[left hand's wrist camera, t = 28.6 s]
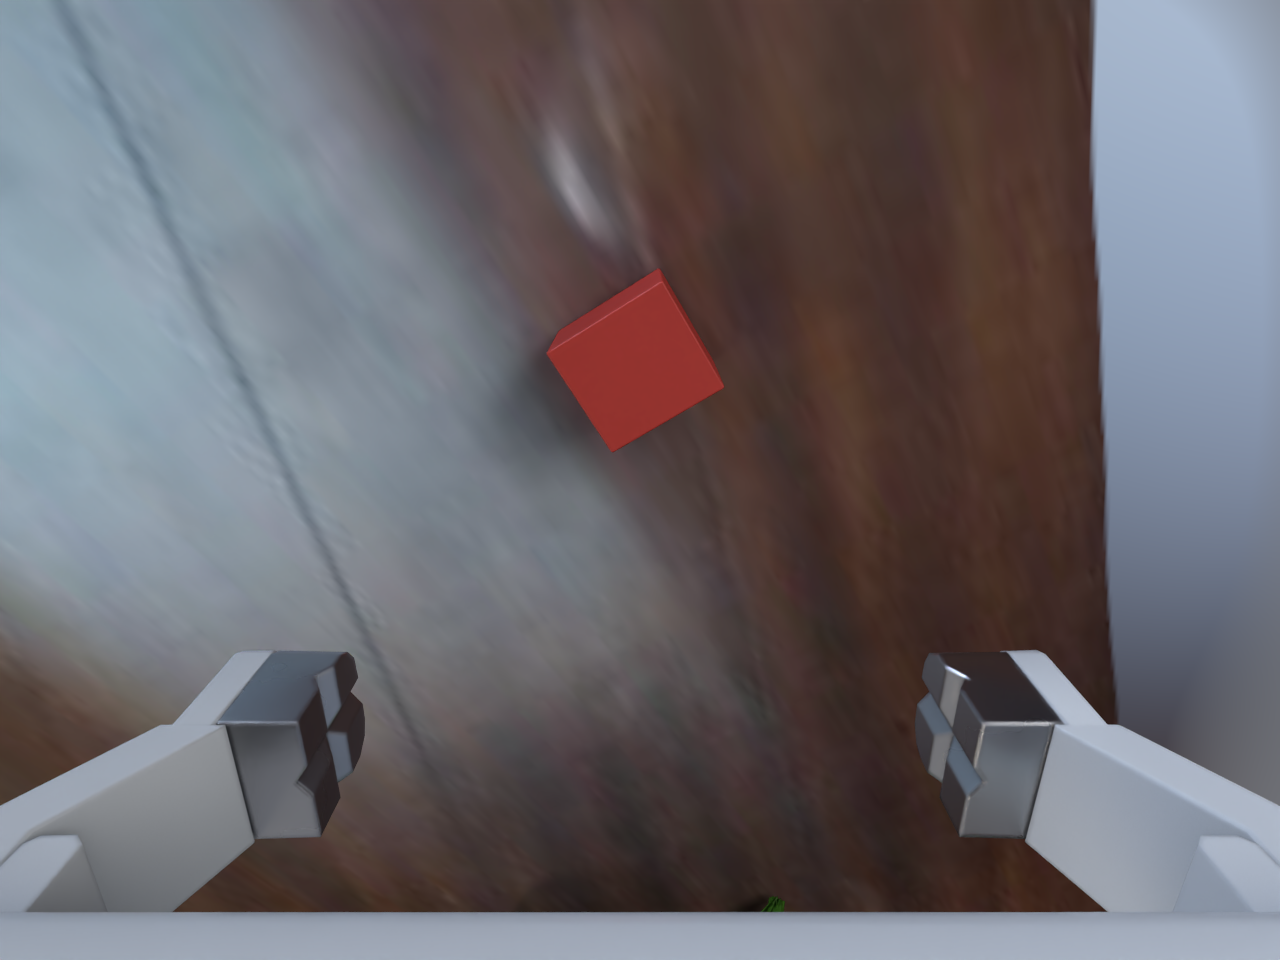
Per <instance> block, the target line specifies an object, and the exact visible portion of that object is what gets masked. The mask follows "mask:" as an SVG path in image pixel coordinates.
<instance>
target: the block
mask: <svg viewBox="0 0 1280 960" xmlns="http://www.w3.org/2000/svg"><path fill="white" fill-rule="evenodd" d="M547 355H548V357H549V358H550V360H551V361H552V363H553V364H554V366H555V368H556V369H557V371H558V372H559V374H560V375H561V377H562V378H563V380H564V381H565V383H566V384H567V386H568V387H569V389H570V390H571V392H572V393H573V395H574V396H575V398H576V399H577V401H578V402H579V404H580V405H581V407H582V408H583V410H584V411H585V413H586V414H587V416H588V417H589V419H590V420H591V422H592V423H593V425H594V427H595V428H596V430H597V431H598V433H599V434H600V436H601V437H602V439H603V440H604V442H605V443H606V445H607V446H608V448H609V449H610V451H611V452H615V451H616V450H618V449H620V448H621V447H623V446H625V445H627V444H628V443H630V442H632V441H634V440H635V439H637V438H639V437H640V436H642V435H644V434H646V433H647V432H649V431H651V430H652V429H654V428H656V427H658V426H659V425H661V424H663V423H665V422H666V421H668V420H670V419H671V418H673V417H675V416H677V415H678V414H680V413H682V412H684V411H685V410H687V409H689V408H690V407H692V406H694V405H696V404H697V403H699V402H701V401H702V400H704V399H706V398H708V397H709V396H711V395H713V394H715V393H716V392H718V391H720V390H721V389H723V388H724V385H723V382H722V380H721V378H720V375H719V373H718V371H717V368H716V366H715V364H714V361H713V360H712V358H711V356H710V354H709V353H708V351H707V349H706V347H705V346H704V344H703V342H702V341H701V339H700V337H699V335H698V334H697V332H696V330H695V328H694V327H693V325H692V323H691V322H690V320H689V318H688V316H687V315H686V313H685V311H684V309H683V308H682V306H681V304H680V303H679V301H678V299H677V297H676V296H675V294H674V292H673V290H672V289H671V287H670V285H669V284H668V282H667V280H666V278H665V277H664V275H663V273H662V271H661V270H660V269H657V270H655V271H654V272H652V273H650V274H649V275H647V276H646V277H644V278H642V279H641V280H639V281H638V282H636V283H634V284H633V285H631V286H630V287H628V288H626V289H625V290H623V291H622V292H620V293H618V294H617V295H615V296H614V297H612V298H610V299H609V300H607V301H606V302H604V303H603V304H601V305H599V306H598V307H596V308H595V309H593V310H591V311H590V312H588V313H587V314H585V315H583V316H582V317H580V318H579V319H577V320H575V321H574V322H572V323H571V324H569V325H567V326H566V327H564V328H563V329H561V330H559V332H558V333H557V335H556V337H555V339H554V341H553V342H552V344H551V346H550V348H549V350H548V352H547Z"/></svg>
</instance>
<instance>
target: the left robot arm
mask: <svg viewBox="0 0 1280 960" xmlns="http://www.w3.org/2000/svg"><path fill="white" fill-rule="evenodd" d="M357 679H358V675H357V670H356V665H355V660H354V657H352V656H351V655H350V654H349V653H348V652H317V651H278V652H277V651H242V652H239V653H236V654H234V655H233V656H232V658H231V659H230V660H229V661H228V662H227V663H226V664H225V666H224V667H223V668H222V669H221V670H220V671H219V672H218V674H217V675H216V676H215V677H214V678H213V679H212V680H211V682H210V683H209V684H208V685H207V686H206V687H205V688H204V689H203V691H202V692H201V693H200V694H199V695H198V696H197V697H196V699H195V700H194V701H193V702H192V703H191V704H190V705H189V707H188V708H187V709H186V710H185V711H184V712H183V713H182V714H181V716H180V717H179V718H178V719H177V720H176V721H175V722H174V724H173V725H160V726H158V727H156V728H154V729H152V730H150V731H148V732H146V733H144V734H142V735H140V736H138V737H136V738H134V739H132V740H130V741H128V742H126V743H124V744H122V745H120V746H118V747H116V748H114V749H112V750H110V751H108V752H106V753H104V754H102V755H100V756H98V757H96V758H94V759H92V760H90V761H88V762H86V763H84V764H82V765H80V766H78V767H76V768H74V769H72V770H70V771H68V772H66V773H64V774H62V775H60V776H58V777H56V778H54V779H52V780H50V781H48V782H46V783H44V784H42V785H40V786H38V787H36V788H34V789H32V790H30V791H29V792H27V793H25V794H23V795H21V796H19V797H17V798H15V799H13V800H11V801H9V802H7V803H5V804H3V805H1V806H0V960H1280V806H1279V805H1277V804H1275V803H1273V802H1271V801H1269V800H1267V799H1265V798H1263V797H1261V796H1259V795H1257V794H1255V793H1253V792H1251V791H1249V790H1247V789H1245V788H1243V787H1241V786H1239V785H1237V784H1235V783H1233V782H1231V781H1229V780H1227V779H1225V778H1223V777H1221V776H1219V775H1217V774H1215V773H1213V772H1212V771H1209V770H1208V769H1206V768H1204V767H1202V766H1200V765H1198V764H1196V763H1194V762H1192V761H1190V760H1188V759H1186V758H1184V757H1182V756H1180V755H1178V754H1176V753H1174V752H1172V751H1170V750H1168V749H1166V748H1164V747H1162V746H1160V745H1158V744H1156V743H1154V742H1152V741H1150V740H1148V739H1146V738H1144V737H1142V736H1140V735H1138V734H1136V733H1134V732H1132V731H1130V730H1128V729H1126V728H1124V727H1122V726H1120V725H1107V724H1106V722H1105V721H1104V720H1103V719H1102V718H1101V717H1100V716H1099V715H1098V713H1097V712H1096V711H1095V710H1094V709H1093V708H1092V707H1091V705H1090V704H1089V703H1088V702H1087V701H1086V700H1085V699H1084V697H1083V696H1082V695H1081V694H1080V693H1079V692H1078V691H1077V690H1076V688H1075V687H1074V686H1073V685H1072V684H1071V683H1070V682H1069V680H1068V679H1067V678H1066V677H1065V676H1064V675H1063V674H1062V672H1061V671H1060V670H1059V669H1058V668H1057V667H1056V666H1055V664H1054V663H1053V662H1052V661H1051V660H1050V659H1049V658H1048V657H1047V655H1046V654H1044V653H1042V652H1040V651H1037V650H1024V651H1001V652H968V653H929V655H928V657H927V659H926V661H925V663H924V669H923V674H922V679H923V681H924V682H925V684H926V686H927V688H928V689H929V691H930V692H929V693H928V694H927V695H926V696H925V697H924V698H923V699H922V700H921V701H920V702H919V703H918V704H917V711H916V719H915V731H916V743H917V747H918V750H919V754H920V757H921V760H922V762H923V764H924V766H925V768H926V771H927V772H928V773H929V774H930V775H932V776H933V777H935V778H936V779H938V780H939V781H940V782H942V787H941V792H940V799H941V801H942V803H943V805H944V807H945V809H946V811H947V813H948V815H949V817H950V819H951V821H952V823H953V825H954V827H955V829H956V831H957V833H958V835H959V837H980V838H1016V839H1026V840H1025V842H1026V843H1027V844H1028V845H1029V846H1031V847H1032V848H1033V849H1034V850H1035V851H1037V852H1038V853H1039V854H1040V855H1041V856H1042V857H1044V858H1045V859H1046V860H1047V861H1048V862H1050V863H1051V864H1052V865H1053V866H1054V867H1056V868H1057V869H1058V870H1059V871H1060V872H1061V873H1063V874H1064V875H1065V876H1066V877H1067V878H1069V879H1070V880H1071V881H1072V882H1073V883H1074V884H1076V885H1077V886H1078V887H1079V888H1080V889H1082V890H1083V891H1084V892H1085V893H1086V894H1088V895H1089V896H1090V897H1091V898H1092V899H1093V900H1095V901H1096V902H1097V903H1098V904H1099V905H1101V906H1102V907H1103V908H1104V909H1105V910H1106V911H1108V912H173V911H174V910H175V909H176V908H177V907H178V906H180V905H181V904H182V903H183V902H184V901H186V900H187V899H188V898H189V897H190V896H192V895H193V894H194V893H195V892H196V891H197V890H199V889H200V888H201V887H202V886H203V885H205V884H206V883H207V882H208V881H209V880H211V879H212V878H213V877H214V876H215V875H216V874H218V873H219V872H220V871H221V870H222V869H224V868H225V867H226V866H227V865H228V864H230V863H231V862H232V861H233V860H234V859H235V858H237V857H238V856H239V855H240V854H241V853H243V852H244V851H245V850H246V849H247V848H249V847H250V846H251V845H252V844H253V843H254V842H255V841H254V839H264V838H298V837H321V835H322V833H323V831H324V829H325V827H326V825H327V823H328V821H329V819H330V817H331V815H332V813H333V811H334V809H335V807H336V805H337V803H338V801H339V799H340V792H339V787H338V782H340V781H341V780H342V779H344V778H345V777H347V776H348V775H350V774H351V773H352V772H353V771H354V768H355V766H356V764H357V762H358V760H359V758H360V755H361V750H362V745H363V741H364V736H365V717H364V710H363V704H362V703H361V702H360V701H359V700H358V699H357V698H356V697H355V696H354V695H353V694H352V693H351V692H350V691H351V689H352V688H353V686H354V684H355V682H356V681H357Z"/></svg>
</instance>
